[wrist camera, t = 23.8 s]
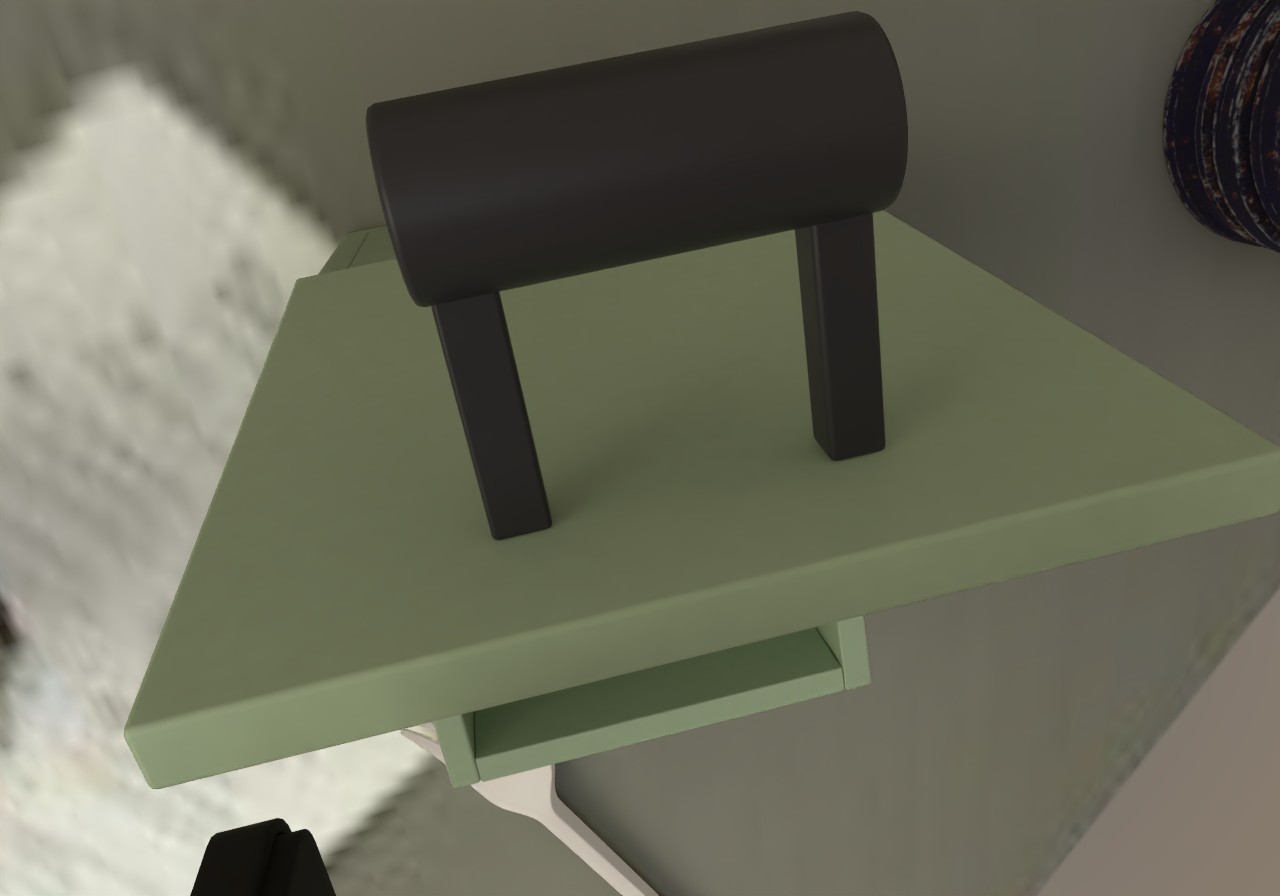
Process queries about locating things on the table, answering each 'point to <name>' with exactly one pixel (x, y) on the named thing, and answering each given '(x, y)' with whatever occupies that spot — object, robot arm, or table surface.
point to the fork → (549, 816)
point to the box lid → (646, 410)
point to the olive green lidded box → (635, 673)
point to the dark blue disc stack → (1229, 122)
